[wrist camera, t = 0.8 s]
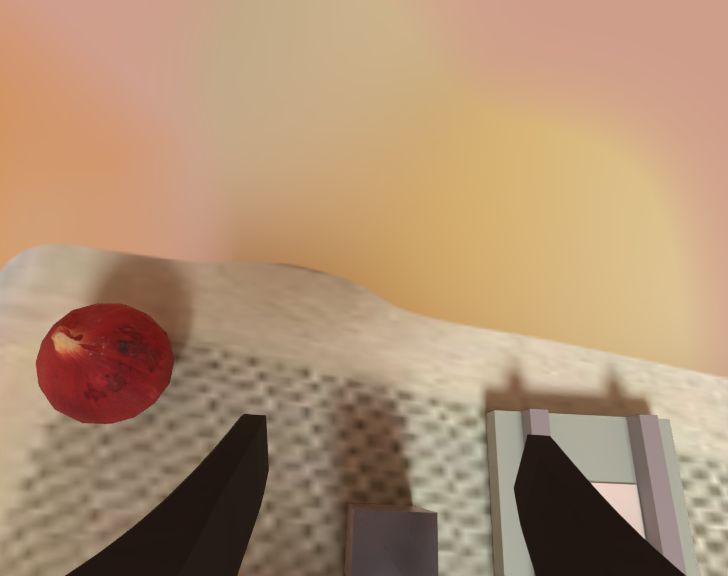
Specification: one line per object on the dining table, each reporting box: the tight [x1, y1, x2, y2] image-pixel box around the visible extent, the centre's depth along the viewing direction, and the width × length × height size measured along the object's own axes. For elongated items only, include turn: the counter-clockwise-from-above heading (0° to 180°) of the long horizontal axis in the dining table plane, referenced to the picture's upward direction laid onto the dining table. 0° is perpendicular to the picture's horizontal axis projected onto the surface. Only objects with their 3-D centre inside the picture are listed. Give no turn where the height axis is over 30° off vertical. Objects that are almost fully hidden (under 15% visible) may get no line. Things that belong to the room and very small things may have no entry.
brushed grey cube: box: [344, 503, 438, 576], centre depth 22 cm, size 5×4×6 cm
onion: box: [36, 304, 174, 424], centre depth 23 cm, size 6×6×8 cm
